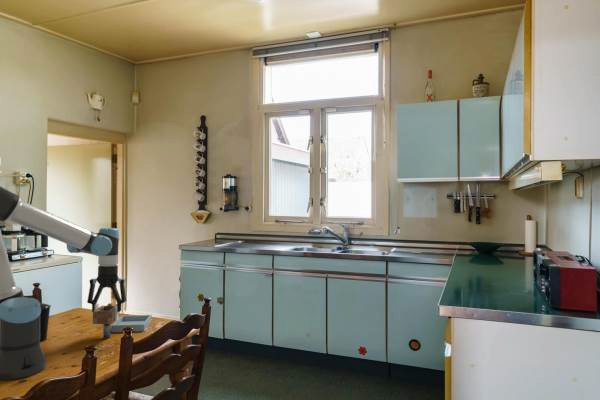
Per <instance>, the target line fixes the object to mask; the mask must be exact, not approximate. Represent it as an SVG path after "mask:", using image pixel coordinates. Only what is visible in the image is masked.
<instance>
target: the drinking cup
mask: <svg viewBox="0 0 600 400" xmlns="http://www.w3.org/2000/svg"><path fill="white" fill-rule="evenodd" d="M38 301H39V302H40V308H41V314H40V343H41V342H45V341H47V335H48V331H49V330H48V327H49V320H50V309H51V307H52V306H51V304H49V303H42V291H41V290H39V291H38Z"/></svg>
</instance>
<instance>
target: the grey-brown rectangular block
mask: <svg viewBox="0 0 600 400" xmlns="http://www.w3.org/2000/svg"><path fill="white" fill-rule="evenodd" d="M113 304H114V303H112V302H109V303H107V305H99V308H98V309H96V310H95V311H93V312H92V325H103V324H111V325H113V324H114V323H115V322H116V321H115V305H113Z"/></svg>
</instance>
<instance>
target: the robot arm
mask: <svg viewBox="0 0 600 400" xmlns="http://www.w3.org/2000/svg"><path fill="white" fill-rule="evenodd" d="M0 222H3V223H5V222H12V223H14V224H15V225H19V226H21V227H23V228H26V229H29V230H30V231H31V230H32V231H33V232H37V233H39V234H41V235H44V236H46V237H49V238H51V239H54V240H56V241H59V242H61V243H64V244H65V245H66V249H67V252H68V253H70V254H79V253H80V254H81V253H82V254H89V255H94V256H96V257H98V267H97V277H95V278H91V279H89V289H88V296H87V301H86V303H87V304H91V312H92V313H93V311H95V310H96V309H98V308H99V307H100V305H99V303H98V301H99V298H100V296H101V294H102V291H103V290H104V288H109V289H110V290H111V291H112V292H111V293H112V294H113V297H114V299H115V302H116V304H114V306H115V322H116V321H117V320H118V319H119V318H120V313H121V311H122V304H124V303H126V302H127V295H126V287H125V286H126V285H125V284H126V278H124V277H123V278H122V277H121V278H120V276H118V275H119V274H118V273H119V271H118V270H119V266H118V264H119V241H120V235H119V234H120V233H119V232H120V231H119V229H118V228H115V227H101V228H100V229H99V230H98V232H97V233H95V232H94V231H91V230H90V229H86V228H85V227H83V226H80V225H78V224H75V223H74V222H72V221H69V220H66V219H65V218H62V217H60V216H57V215H55V214H53V213H51V212H49V211H46V210H44V209H42V208H40V207H37V206H35V205H33V204H31V203H29V202H26V201H24V200H22V197H21V196H20V195H18V194H17V193H14V192H12V191H10V190H8V189H6V188H4V187H3V186H0ZM117 282H118V284H119V289H120V290H119V291H120V293H119V291H118V288H117ZM97 283H98V285H99V286H98V288H97V291H96V293H94V292H95V288H96V284H97ZM94 295H95V296H94ZM40 314H41V308H40V302H39V299H36V298H33V297H27V296H24V292H23V288H22V287H20V286H18V285H16V282H15V279H14V275H13V271H12V268H11V263H10V260H9V257H8V253H7V250H6V245H5V242H4V238H3V234H2V230H1V229H0V381H8V380H17V379H22V378H27V377H30V376H33V375H36V374H38V373H41V372H42V371H43V370H45V368H46V366H47V359H46V356H45V354H44V351H43V349H42V346H41V342H40Z"/></svg>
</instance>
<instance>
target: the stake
mask: <svg viewBox="0 0 600 400" xmlns="http://www.w3.org/2000/svg"><path fill="white" fill-rule="evenodd" d="M111 325H112V324H102V333H103V334H102V339H104V340H108V339H111V338H112V337H111V336H112V335H111V334H112V332H111Z"/></svg>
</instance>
